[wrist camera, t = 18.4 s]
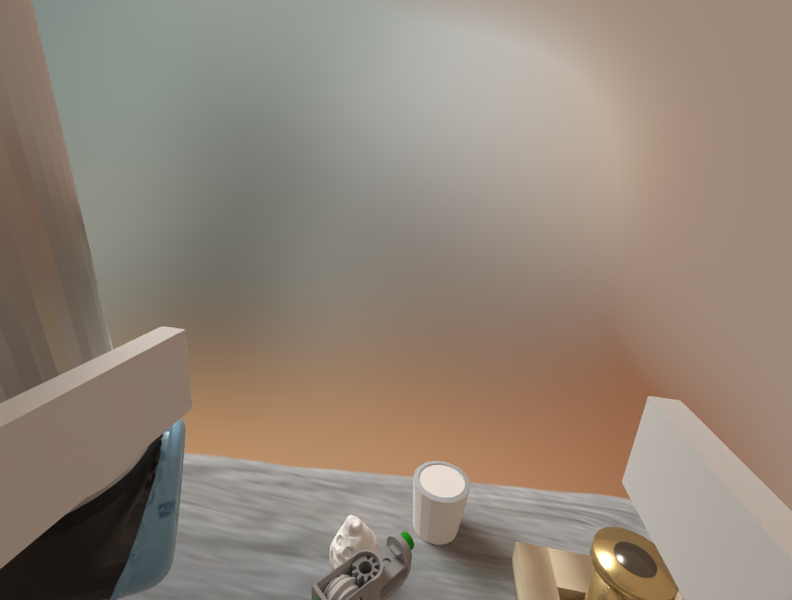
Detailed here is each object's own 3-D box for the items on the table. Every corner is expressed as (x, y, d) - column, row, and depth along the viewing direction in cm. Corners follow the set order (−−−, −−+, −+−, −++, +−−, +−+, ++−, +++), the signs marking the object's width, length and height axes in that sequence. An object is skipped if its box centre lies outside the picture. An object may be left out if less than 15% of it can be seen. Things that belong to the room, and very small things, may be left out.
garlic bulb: (321, 515, 42) (360, 491, 46) (320, 558, 44) (358, 530, 48) (353, 550, 39) (393, 520, 42) (350, 595, 40) (389, 562, 44)
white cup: (420, 495, 54) (425, 453, 52) (469, 516, 51) (476, 472, 49) (399, 533, 48) (404, 487, 46) (453, 559, 45) (460, 511, 43)
